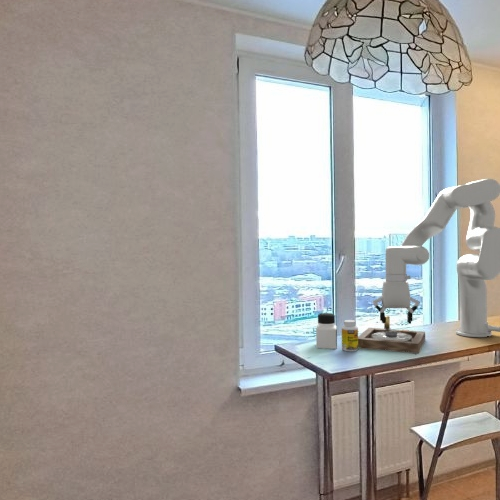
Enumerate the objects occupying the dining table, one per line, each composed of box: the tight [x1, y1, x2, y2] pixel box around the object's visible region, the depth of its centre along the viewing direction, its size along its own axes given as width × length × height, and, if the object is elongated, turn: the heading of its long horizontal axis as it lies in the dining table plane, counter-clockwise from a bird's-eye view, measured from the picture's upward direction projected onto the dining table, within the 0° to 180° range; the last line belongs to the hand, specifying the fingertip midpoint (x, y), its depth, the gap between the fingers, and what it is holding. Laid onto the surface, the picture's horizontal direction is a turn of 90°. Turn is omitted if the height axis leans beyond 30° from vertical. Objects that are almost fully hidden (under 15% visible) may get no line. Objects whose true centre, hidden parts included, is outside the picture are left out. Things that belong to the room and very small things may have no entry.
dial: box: [372, 315, 412, 342], centre depth 161 cm, size 16×14×7 cm
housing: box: [358, 327, 426, 354], centre depth 160 cm, size 21×21×3 cm
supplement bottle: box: [341, 319, 359, 353], centre depth 152 cm, size 6×6×10 cm
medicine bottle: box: [315, 312, 338, 350], centre depth 158 cm, size 7×7×12 cm
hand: (396, 322), depth 168 cm, fingers open, 9 cm apart
